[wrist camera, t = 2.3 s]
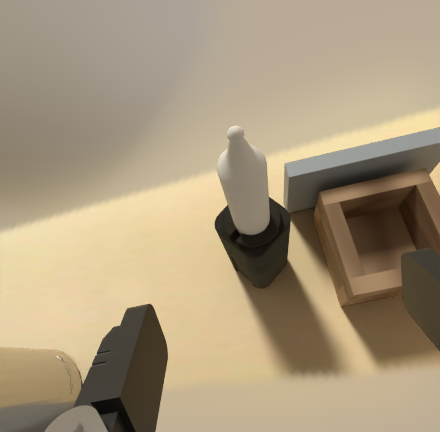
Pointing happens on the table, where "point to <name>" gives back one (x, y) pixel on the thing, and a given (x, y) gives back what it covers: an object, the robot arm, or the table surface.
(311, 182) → the backstop wall
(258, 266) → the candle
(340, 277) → the socket block
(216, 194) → the table surface
